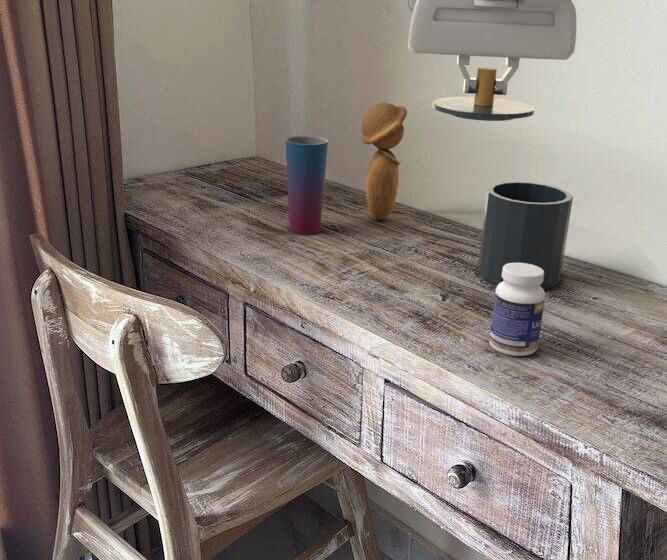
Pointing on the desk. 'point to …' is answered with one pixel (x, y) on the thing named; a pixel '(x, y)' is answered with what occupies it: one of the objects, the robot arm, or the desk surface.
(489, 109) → the can lid
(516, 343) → the pill bottle
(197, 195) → the desk surface
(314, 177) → the cup
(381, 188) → the figurine
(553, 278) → the can
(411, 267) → the desk surface
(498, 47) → the robot arm
